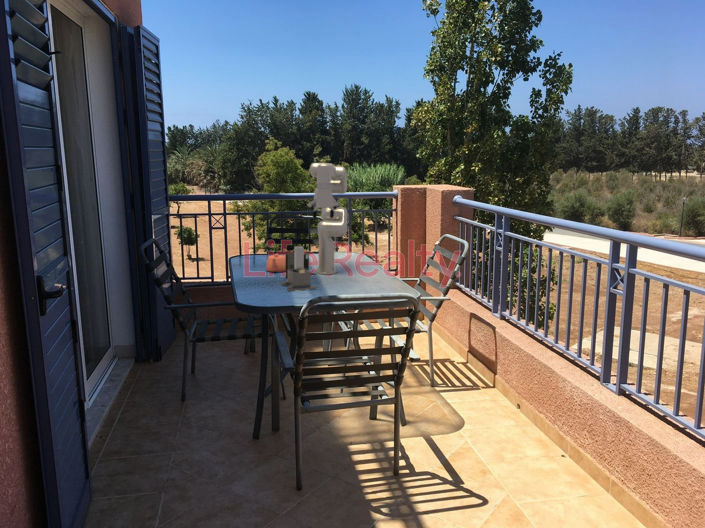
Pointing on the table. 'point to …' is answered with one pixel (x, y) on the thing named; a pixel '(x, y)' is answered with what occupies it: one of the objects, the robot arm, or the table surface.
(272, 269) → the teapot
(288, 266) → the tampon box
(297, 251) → the column
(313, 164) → the robot arm
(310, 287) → the stand base
